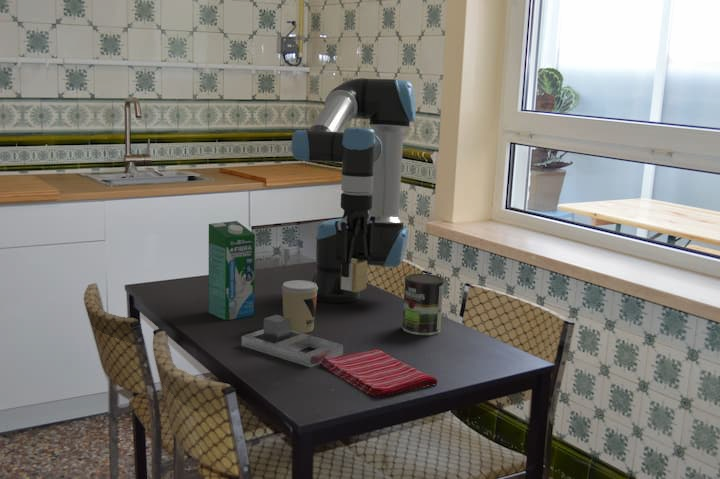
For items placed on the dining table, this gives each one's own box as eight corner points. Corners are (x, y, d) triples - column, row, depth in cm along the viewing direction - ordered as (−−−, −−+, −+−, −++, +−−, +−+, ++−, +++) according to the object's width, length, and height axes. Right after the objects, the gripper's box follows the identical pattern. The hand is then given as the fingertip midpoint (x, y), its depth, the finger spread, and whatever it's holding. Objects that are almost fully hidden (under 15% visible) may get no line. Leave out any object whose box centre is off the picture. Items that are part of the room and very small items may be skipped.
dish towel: (376, 402, 175) (376, 390, 174) (318, 366, 194) (318, 355, 194) (440, 387, 184) (440, 376, 184) (378, 355, 204) (379, 344, 203)
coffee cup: (311, 335, 215) (312, 290, 212) (276, 332, 216) (277, 287, 214) (320, 325, 224) (321, 281, 221) (286, 321, 225) (287, 278, 223)
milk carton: (226, 320, 224) (226, 228, 219) (208, 312, 231) (208, 223, 226) (254, 315, 230) (255, 225, 225) (236, 307, 237) (236, 220, 232)
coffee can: (424, 338, 216) (427, 285, 213) (394, 328, 223) (396, 277, 220) (448, 330, 223) (452, 279, 221) (418, 321, 230) (421, 271, 227)
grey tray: (275, 334, 214) (275, 325, 214) (342, 354, 201) (343, 344, 201) (241, 345, 205) (241, 336, 204) (310, 367, 192) (310, 357, 191)
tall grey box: (275, 341, 209) (276, 314, 208) (289, 345, 206) (290, 318, 205) (263, 345, 206) (263, 318, 204) (277, 350, 203) (277, 322, 202)
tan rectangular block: (351, 285, 208) (352, 258, 207) (366, 288, 205) (367, 260, 204) (340, 289, 204) (341, 260, 203) (355, 292, 202) (356, 263, 200)
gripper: (365, 187, 209) (361, 278, 214) (321, 194, 195) (318, 291, 200) (390, 191, 205) (386, 283, 210) (347, 198, 191) (343, 297, 196)
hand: (353, 287), depth 205 cm, fingers closed on tan rectangular block, 4 cm apart
